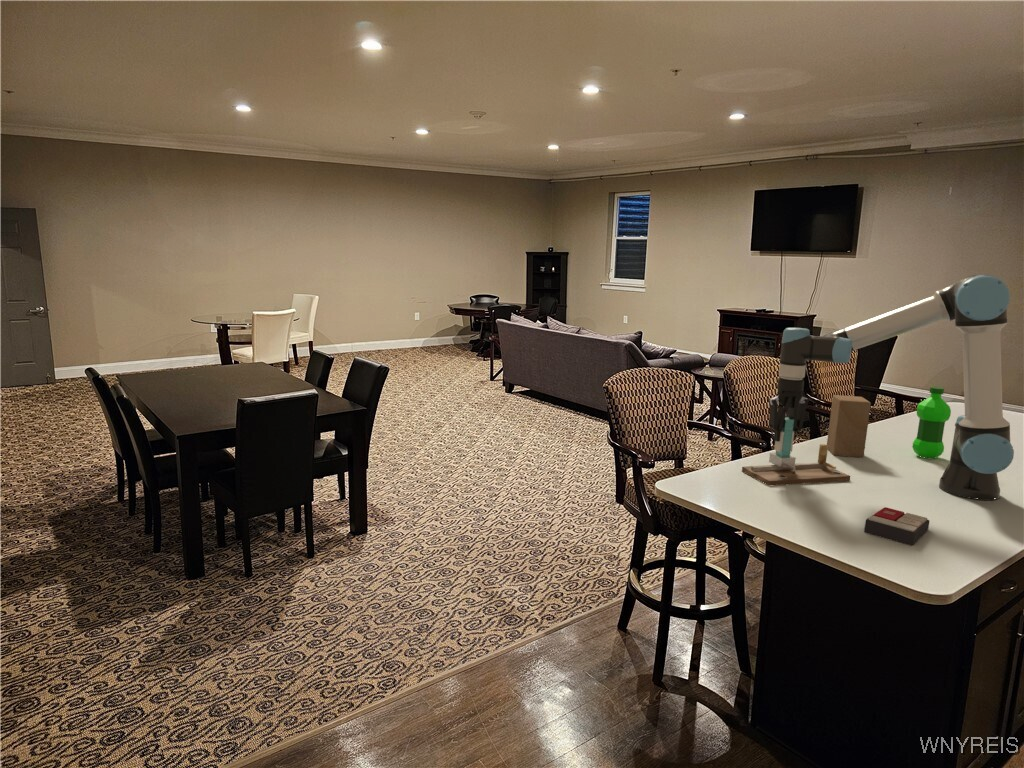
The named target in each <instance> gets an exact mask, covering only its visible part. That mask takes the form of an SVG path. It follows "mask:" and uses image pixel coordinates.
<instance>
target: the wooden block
mask: <svg viewBox="0 0 1024 768" xmlns="http://www.w3.org/2000/svg"><path fill="white" fill-rule="evenodd" d="M871 405H872V403H871V402H870V401H869V400H867V399H866V398H864V397H863V396H856V395H855V396H853V395H838V394H833V396H832V400H831V406H830V407H831V408H830V409H831V411H830V415H829V425H828V430H827V431H828V433H827V439H826V440H827V441H826V445H828V450H827V451H829V452H830V453H831V454H832V455H833V456H836V455H837V456H838V457H839V456H840V457H848V456H849V458H860V457H861V458H864V457H865V449H866V448H865V447H866V441H867V435H868V427H869V419H870V411H871Z"/></svg>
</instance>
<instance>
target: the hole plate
mask: <svg viewBox="0 0 1024 768" xmlns="http://www.w3.org/2000/svg"><path fill="white" fill-rule="evenodd" d="M828 451H829V450H828V445H827V444H824V443H820V444H819V448H818V457H817V461H816V462H801V463H800V462H799V463H795V469H796V470H795V474H792V472H793V469H791V468H789V467H783V468H781V467H779V466H777V465H774V464H765V465H761V464H760V465H750V466H742V467H741V468H742V469H741V472H742V471H743V472H742V473H744V472H745V474H746V473H747V474H746V475H748V474H749V475H748V476H750V477H752V476H753V477H752V478H754V479H755V478H756V480H757V479H758V480H757V481H759V480H760V482H761V481H762V483H763V482H764V483H763V484H765V483H766V484H765V485H766V486H769V485H774V486H785V485H786V484H789V485H802V484H803V483H805V484H816V483H817V484H818V483H820V482H821V483H831V482H833V483H834V482H848V481H849V480H850V481H851V475H849V474H846V473H845V472H843V471H840V470H838V469H837V466H835V465H833V464H830V463H828V462H827V457H828Z"/></svg>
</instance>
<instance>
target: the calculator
mask: <svg viewBox="0 0 1024 768" xmlns="http://www.w3.org/2000/svg"><path fill="white" fill-rule="evenodd" d="M929 526H930V520H929V519H928V517H927V516H922V515H918V514H914V513H909V512H906V513H905V511H902V510H897V509H894V508H891V507H886V506H885V507H882V509H879V510H878V511H877V512H875V513H874V514H872V515H871V516H869V517H867V518H866V519H865V524H864V528H863V529H864V530H863V533H864V534H869V535H872V536H876V537H879V538H882V539H886V540H890V541H893V542H897V543H900V544H903V545H906V546H911V547H913V546H915V544H917V543H918V541H919V539H921V538H922V537H924V535H925V534H926V533H927V532H928V531H929Z"/></svg>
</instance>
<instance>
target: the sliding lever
mask: <svg viewBox="0 0 1024 768" xmlns="http://www.w3.org/2000/svg"><path fill="white" fill-rule="evenodd" d="M793 424H794V419H791V418H789V416H787V417H786V416H785V420H784V424H783V428H782V431H783V432H784V437H783V446H782V452H778V451H776V450H775V452H769V459H768V463H771V465H777V466H779V467H781V468H783V467H789V468H791V469H793V472H792V474H795V470H796V469H795V464H796V459H797V457H795V456H793V455H791V452H790V451H791V442H792V433H793Z"/></svg>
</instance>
